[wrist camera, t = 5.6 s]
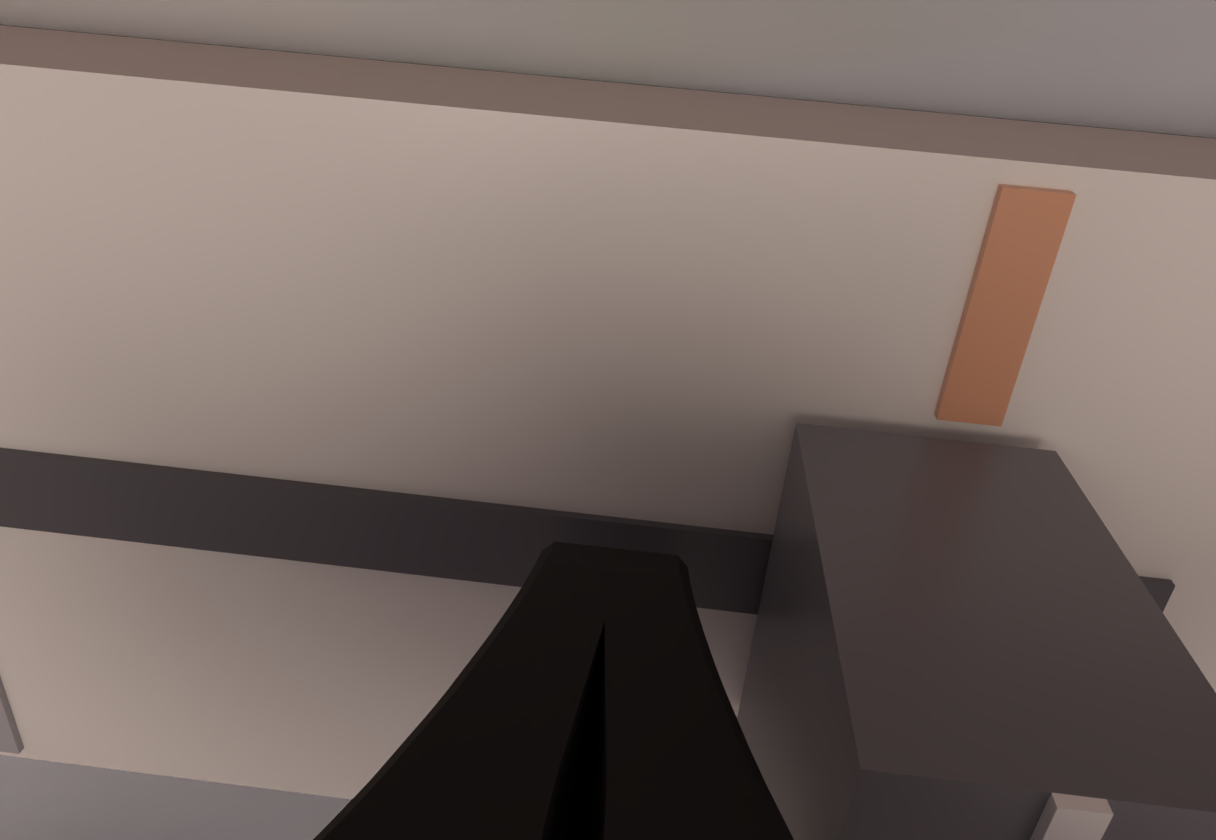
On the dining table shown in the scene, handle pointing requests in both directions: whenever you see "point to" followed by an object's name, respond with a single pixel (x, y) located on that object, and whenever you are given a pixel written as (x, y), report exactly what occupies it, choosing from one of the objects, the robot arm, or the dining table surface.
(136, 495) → the console
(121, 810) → the dining table surface
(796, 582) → the block
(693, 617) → the robot arm
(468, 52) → the dining table surface
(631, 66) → the dining table surface
